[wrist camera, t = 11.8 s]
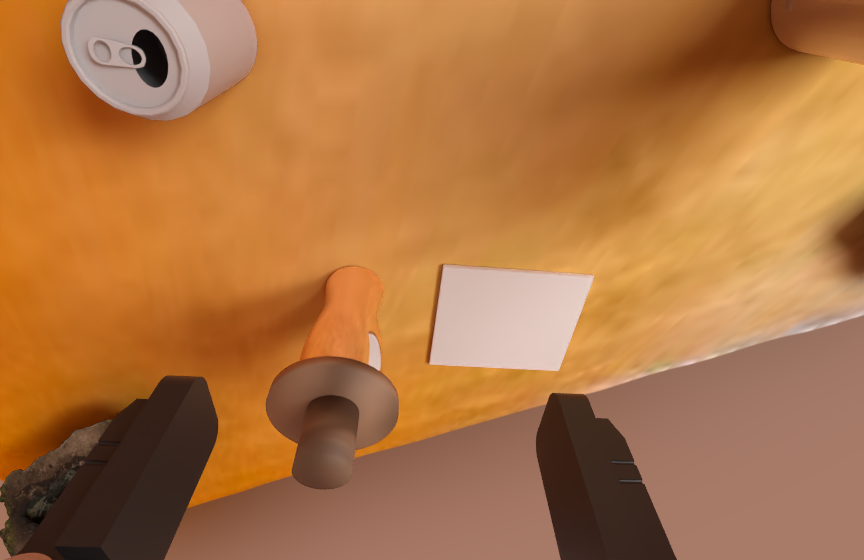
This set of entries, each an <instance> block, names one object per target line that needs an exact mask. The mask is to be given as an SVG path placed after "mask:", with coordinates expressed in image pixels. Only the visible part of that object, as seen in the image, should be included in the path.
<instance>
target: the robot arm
mask: <svg viewBox="0 0 864 560" xmlns="http://www.w3.org/2000/svg"><path fill="white" fill-rule="evenodd" d="M771 21H772V26H773V30H774V32H775V34H776V36H777V37H778V39H779V40H780V41H781V42H782V43H783V44H784V45H785V46H786V47H788V48H791V49H793V50H795V51H799V52H804V53H809V54H814V55H819V56H824V57H829V58H833V59H837V60H842V61H847V62H852V63H857V64H862V65H864V0H772V3H771ZM217 434H218V418H217V415H216V411H215V408H214V405H213V402H212V398H211V395H210V392H209V389H208V385H207V382H206V380H205V379H204V378H203V377H192V376H165V377H164V378H163V379H162V380H161V381H160V382H159V384H158V385H157V387H156V388H155V390H154V391H153V393H152V394H151V396H150V398H149V399H136V400H135V401H134V402H133V403H132V404H130V405H129V406H128V407H127V408H125V409H124V410H123V411H122V412H121V413H119V414H118V415H117V416H116V417H114V418H113V420H112V421H111V423H110V424H109V426H108V427H107V429H106V430H105V431H104V433H103V434H102V436H101V437H100V439H99V440H98V444H97V446H94V447H93V449H92V450H91V452H90V453H89V454H88V456H87V457H86V459H85V463H84V465H81V466H80V467H79V469H78V470H77V472H76V473H75V475H74V476H73V478H72V479H71V480H70V482H69V483H68V485H67V486H66V488H65V489H64V490H63V492H62V493H61V495H60V496H59V498H58V499H57V501H56V502H55V503H54V505H53V506H52V508H51V509H50V511H49V512H48V513H47V515H46V516H45V518H44V519H43V521H42V522H41V524H40V525H39V526H38V528H37V529H36V531H35V532H34V534H33V535H32V537H31V538H30V539H29V541H28V542H27V543H26V544H25V546H24V547H23V548H22V549H21V550H20V551H19V552H18V553H17V555H15V556H13V557H10V558H8V559H5V560H164V558H165V556H166V554H167V552H168V549H169V547H170V545H171V543H172V540H173V538H174V535H175V533H176V531H177V529H178V527H179V524H180V522H181V520H182V518H183V515H184V513H185V511H186V509H187V506H188V504H189V502H190V500H191V497H192V495H193V493H194V491H195V488H196V486H197V484H198V481H199V479H200V477H201V475H202V472H203V470H204V468H205V466H206V463H207V461H208V459H209V457H210V454H211V452H212V450H213V448H214V445H215V442H216V438H217ZM536 451H537V458H538V463H539V467H540V472H541V476H542V480H543V485H544V489H545V493H546V497H547V502H548V506H549V510H550V514H551V519H552V523H553V527H554V532H555V536H556V540H557V545H558V549H559V554H560V558H561V560H677V559H676V557H675V555H674V553H673V550H672V548H671V545H670V543H669V541H668V538H667V536H666V534H665V531H664V529H663V527H662V524H661V522H660V520H659V518H658V515H657V513H656V510H655V508H654V506H653V503H652V501H651V499H650V496H649V494H648V492H647V489H646V487H645V485H644V484H643V483H642V478H641V475H640V473H639V471H638V468H637V466H636V465H634V459H633V457H632V454H631V452H630V450H629V447H628V445H627V443H626V440H625V438H624V437H623V436H622V435H621V434H620V432H619V431H618V430H617V429H616V428H615V427H614V425H613V424H612V423H611V422H610V421H609V420H608V419H602V418H595V415H594V413H593V410H592V408H591V405H590V402H589V400H588V398H587V397H586V396H585V395H584V394H565V393H552V394H551V395H550V397H549V399H548V402H547V405H546V408H545V411H544V414H543V417H542V420H541V423H540V426H539V428H538V432H537V437H536Z"/></svg>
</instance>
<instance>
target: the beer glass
mask: <svg viewBox="0 0 864 560" xmlns="http://www.w3.org/2000/svg"><path fill="white" fill-rule="evenodd" d="M383 292H384V291H383V286H382V283H381V281H380V279H379V278H378V277H377V276H376V275H375V274H374V273H372V272H371V271H369V270H367V269H365V268H361V267H354V266H351V267H344V268H341V269H339V270H337V271H335V272H334V273H333V274H332V275H331V276H330V277H329V278H328V280H327V283H326V302H325V305H324V308H323V310H322V312H321V314H320V315H319V317H318V319H317V320H316V322H315V324H314V326H313V327H312V329H311V331H310V333H309V335H308V337H307V339H306V341H305V344H304V347H303V350H302V353H301V356H300V360H299V361H301V360H305V359H308V358H313V357H322V356H336V357H345V358H350V359H354V360H357V361H361V362H363V363H366V364H368V365H370V366H372V367H374V368H376V369H377V370H379V371H380V372H381V370H382V343H381V336H380V330H379V324H378V317H377V316H378V309H379V306H380V304H381V301H382V298H383Z"/></svg>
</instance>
